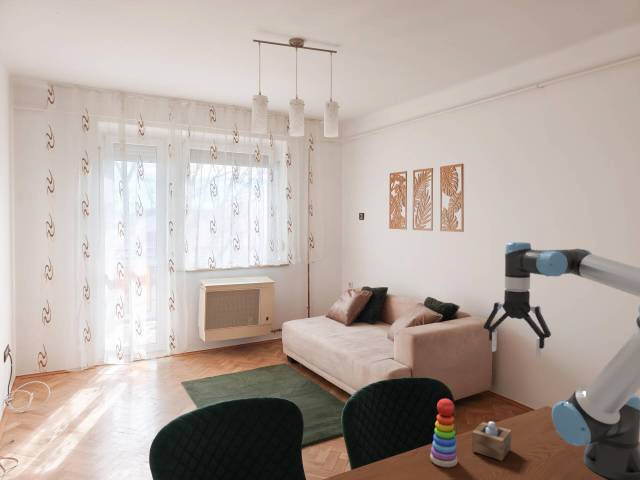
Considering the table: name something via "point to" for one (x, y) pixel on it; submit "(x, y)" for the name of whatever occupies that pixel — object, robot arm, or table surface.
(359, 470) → the table surface
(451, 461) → the stacking toy
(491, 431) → the pale blue pawn
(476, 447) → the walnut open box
